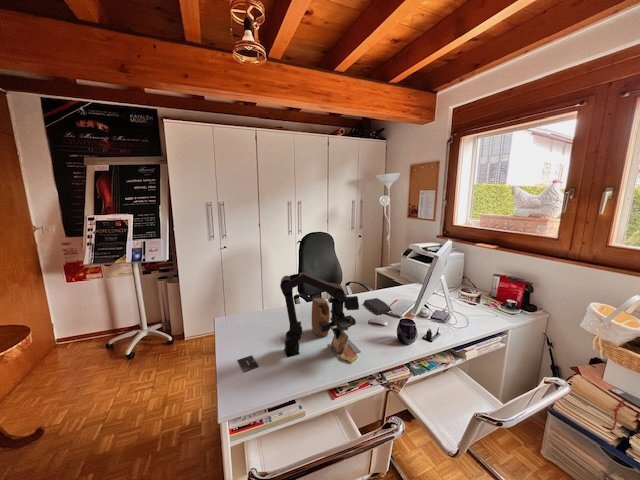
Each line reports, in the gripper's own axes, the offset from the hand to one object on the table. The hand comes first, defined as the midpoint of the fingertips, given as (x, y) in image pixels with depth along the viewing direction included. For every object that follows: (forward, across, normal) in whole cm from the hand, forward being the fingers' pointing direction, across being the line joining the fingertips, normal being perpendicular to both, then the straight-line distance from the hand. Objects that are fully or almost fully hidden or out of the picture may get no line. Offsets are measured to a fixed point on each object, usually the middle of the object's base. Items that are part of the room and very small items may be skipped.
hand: (336, 338), depth 133 cm
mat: (+7, +4, 0) cm, 8 cm away
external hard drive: (+8, +49, +33) cm, 60 cm away
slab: (+6, 0, 0) cm, 6 cm away
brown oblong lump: (+7, -1, +19) cm, 20 cm away
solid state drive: (+7, -43, +7) cm, 44 cm away
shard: (+6, +3, -6) cm, 9 cm away
